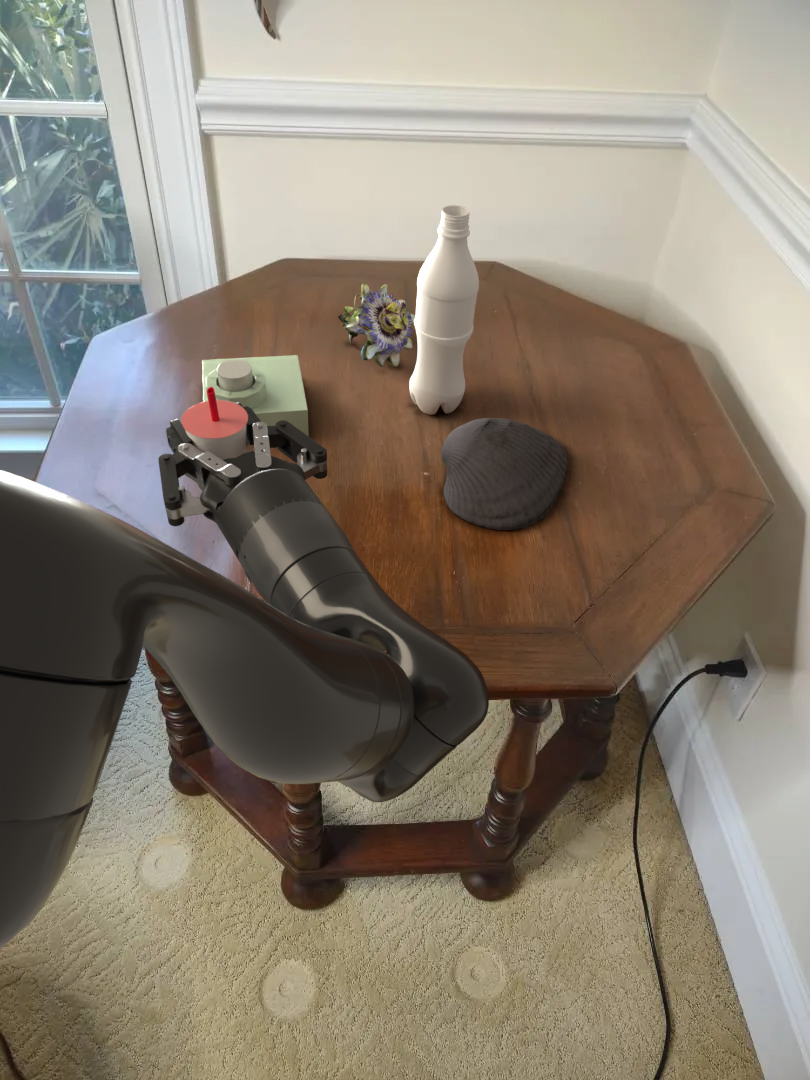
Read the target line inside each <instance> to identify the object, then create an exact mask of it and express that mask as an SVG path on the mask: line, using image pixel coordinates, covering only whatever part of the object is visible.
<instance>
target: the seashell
mask: <svg viewBox="0 0 810 1080" xmlns="http://www.w3.org/2000/svg"><path fill="white" fill-rule="evenodd" d="M440 456H441V457H440V458H441V460H442V462H443V464H444V465H445V468H446V478H445V482H444V487H443V497H444V501H445V503H446V505H447V508H449V509H450V511H451V512H452V513H453V514H454V515H456V516H458V517H460V518H461V519H462V520H464V521H466V522H467V523H471V524H474V525H475V526H480V527H482V528H486V529H489V530H496V531H516V530H523V529H526V528H528V527H530V526H533V525H535V524H536V523H537V522H538V521H541V520H542V519H544V518H545V516H546V515H548V514H549V513H550V511H551V510H552V509H553V507H554V504H555V503H556V501H557V498H559V493H561V491H562V487H563V486H564V484H565V481H566V478H567V477H566V474H567V472H568V470H567V469H568V455H567V452H566V451H565V449H564V446H563V445H562V444H561V443H560V442H559V441H557V440H556V439H555V438H554V437H553V436H552V435H550V434H548V433H547V432H544V431H543V430H541V429H538V428H536V427H533V426H532V425H529V424H527V423H523V422H520V421H515V420H513V419H508V418H500V417H497V418H495V417H481V418H477V419H473V420H471V421H468V422H466V423H463V424H461V425H459V426H457V427H456V428H454V429H453V430H452V431H450V433H449V434H448V435H447V436H446V438H445V440H444V442H443V443H442V446H441V450H440Z"/></svg>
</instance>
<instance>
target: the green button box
mask: <svg viewBox="0 0 810 1080" xmlns="http://www.w3.org/2000/svg"><path fill="white" fill-rule="evenodd" d="M228 360H243V361H246V362H248V363H249V364H250V365H251V367H252V375H253V385H252V387H251V388H249V389H247V390H244V391H240V392H229V391H225V390H222V389H221V388H220V386H219V382H218V375H217V368H218V366H219V365H220V364H221V363H223V362H225V361H228ZM201 364H202V365H201V366H202V368H201V369H202V402H205V401H208V397H207V389H208V388H209V387H213V388H214V391H215V397H216V400H223V401H229V402H233V403H238V402H240V403H241V404H242V405H243V407H245V406H248V407H250V408H251V409H252V410H253V411H254V413H255V414H256V415H257V417H258V418H259V419H260V421H261V422H264V423H266V424H267V426H276V423H277V422H278V421H282V420H284V421H288V422H289V423H291V424H292V425H293V426H295V427H296V428H297V429H299V430H300V431H302V432H303V433H304V434H306V435H307V436H308V437H310V435H309V434H310V433H309V432H310V431H309V409H308V403H307V397H306V392H305V387H304V382H303V376H302V371H301V365H300V360H299V355H298V354H293V355H291V354H289V355H273V356H252V357H251V356H250V357H235V358H234V357H233V358H216V359H215V358H213V359H202V360H201Z"/></svg>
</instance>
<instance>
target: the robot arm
mask: <svg viewBox="0 0 810 1080" xmlns="http://www.w3.org/2000/svg"><path fill="white" fill-rule="evenodd" d="M236 404H238V405H240V406H241V407H242V408H244V409H245V411H246V412H247V414H248V421H247V424H246V443H247V444H248V445H249V446H250V447H251V446H254V450H251V451H248V452H247V451H246V453H244V454H242V455H240V456H238V457H236V458H228V459H224V460H222V459H220V458H218V457H217V456H215V455H214V454H212V453H211V452H209V451H205V452H202V451H201V450H199V449H198V448H196V447H195V446H193V441H192V439H191V438H189V436H188V435H187V434H186V431H185V429H184V427H183V425H182V421H181V419H179V418H176V419H172V420H170V421H169V425H170V426H168V427H166V429H165V434H166V439H167V443H168V447H169V448H170V450H171V452H172V454H171V453H163V454H161V455H160V456H158V457H157V458H158V466H159V468H158V469H159V474H160V475H159V477H160V484H161V490H162V498H163V504H164V509H165V512H166V517H167V521H168V524H169V526H171V527H180V526H181V525H183V524H184V523H185V518H186V517H190V516H191V517H192V516H197V515H203V516H204V517H205V518H206V519H207V520H210V521H212V522H214V523H215V524H216V525H217V526H218V528H219V530H220V532H221V533H222V536H223V537H224V539H225V540H226V542H227V543H228V545H229V547H230V548H231V550H232V553H234V555H235V557H236V559H237V560H238V562H239V564H240V565H241V567H242V568H243V569H242V571H243V572H244V575H245V576H246V578H247V580H248V581H249V582H250V583H251V584H252V585H253V587H254V588H255V590H256V592H257V593H258V594H259V596H260V597H259V596H257V595H256V594H254V593H252V592H251V591H250V590H248V589H246V588H245V587H243V586H241V585H240V584H238V583H236V582H234V581H232V580H231V579H229V578H227V577H226V576H224V575H222V574H221V573H219V572H217V571H215V570H213V569H211V568H209V567H208V566H206V565H204V564H202V563H200V562H199V561H197V560H195V559H193V558H191V557H190V556H188V555H187V554H185V553H183V552H181V551H179V550H178V549H176V548H174V547H172V546H170V545H168V544H167V543H165V542H163V541H161V540H160V539H158V538H156V537H154V536H152V535H150V534H148V533H147V532H145V531H144V530H142V529H139V528H138V527H136V526H135V525H132V524H130V523H129V522H127V521H124V520H123V519H121V518H119V517H117V516H115V515H113V514H111V513H109V512H106V511H105V510H102V509H101V508H99V507H96V506H94V505H93V504H90V503H88V502H86V501H83V500H82V499H79V498H76V497H74V496H71V495H69V494H66V493H64V492H62V491H59V490H57V489H54V488H52V487H50V486H46V485H44V484H41V483H40V482H39V483H38V482H36V481H34V480H31V479H29V478H26V477H24V476H21V475H19V474H15V473H12V472H9V471H6V470H3V469H0V949H2V948H3V947H4V946H6V945H7V944H8V943H9V942H11V940H13V939H14V938H15V937H16V936H17V935H18V934H20V933H21V932H22V931H23V930H25V928H27V927H28V926H29V925H30V924H31V923H32V922H33V920H34V919H35V918H36V917H37V916H38V914H39V913H40V912H41V910H42V909H43V908H44V907H45V905H46V903H47V902H48V900H49V898H50V897H51V895H52V893H53V892H54V890H55V888H56V887H57V885H58V883H59V881H60V880H61V878H62V877H63V874H64V873H65V870H66V868H67V866H68V865H69V863H70V861H71V858H72V856H73V854H74V851H75V850H76V847H77V845H78V843H79V840H80V837H81V834H82V832H83V829H84V827H85V823H86V821H87V818H88V815H89V813H90V810H91V808H92V805H93V802H94V796H95V793H96V791H97V788H98V786H99V782H100V779H101V777H102V774H103V770H104V767H105V765H106V762H107V758H108V756H109V753H110V749H111V747H112V745H113V744H112V743H113V741H114V738H115V735H116V731H117V729H118V726H119V723H120V719H121V716H122V713H123V710H124V707H125V705H126V701H127V698H128V696H129V692H130V689H131V686H132V684H133V681H132V678H134V677H135V676H136V673H137V669H138V667H139V662H140V659H141V655H142V651H143V648H144V649H145V650H146V651H147V652H148V653H149V654H150V655H151V656H152V657H153V658H154V660H155V661H156V662H157V663H158V664H159V665H160V667H161V668H162V669H163V670H164V671H165V672H166V674H167V675H168V676H169V679H171V681H172V682H173V684H174V685H175V687H176V688H177V689H178V691H179V692H180V694H181V695H182V697H183V699H184V700H185V702H186V704H187V705H188V707H189V708H190V711H191V713H192V714H193V715H194V717H195V718H196V720H197V721H198V723H199V724H200V726H201V727H202V729H203V730H204V732H205V733H206V734H207V736H208V737H209V739H210V740H211V742H213V744H214V745H215V746H216V747H217V748H218V750H219V751H220V752H221V753H222V754H224V756H226V757H227V758H228V759H229V760H230V761H232V762H233V763H234V764H235V765H236V766H237V767H239V768H240V769H242V770H244V771H246V772H248V773H250V774H251V775H253V776H255V777H257V778H260V779H263V780H266V781H270V782H273V783H277V784H281V785H282V784H283V785H284V784H285V785H312V784H324V783H335V782H336V783H337V782H338V783H340V784H341V785H343V786H345V787H348V788H350V789H351V790H352V791H353V792H355V793H356V794H358V795H359V796H360V797H362V798H363V799H365V800H368V801H370V802H373V803H386V802H388V801H391V800H394V799H395V798H399V797H400V796H402V795H403V794H405V793H407V792H408V791H409V790H411V789H412V788H413V787H414V786H415V785H417V784H418V783H419V782H420V781H421V780H422V779H423V778H425V777H426V775H427V774H429V772H431V771H432V770H433V769H434V768H435V767H436V766H438V765H439V764H440V763H441V762H442V761H443V760H444V759H445V758H446V757H447V756H449V755H450V754H451V753H453V751H454V750H455V749H456V748H457V747H458V746H459V745H461V744H462V743H463V742H464V741H465V740H466V739H468V738H469V737H470V736H471V735H472V734H473V733H474V732H475V731H476V730H477V729H478V728H480V726H481V725H482V724H483V722H484V721H485V719H486V717H487V715H488V711H489V705H490V696H489V690H488V686H487V683H486V680H485V676H484V675H483V673H482V671H481V670H480V668H479V667H478V666H477V664H476V663H475V662H474V660H472V658H470V657H469V656H468V655H467V654H466V653H464V652H463V651H462V650H461V649H460V648H458V647H457V646H456V645H454V644H453V643H451V642H450V641H448V640H446V639H445V638H443V637H442V636H441V635H439V634H438V633H436V632H434V631H433V630H432V629H430V628H429V627H427V626H426V625H424V624H423V623H421V622H419V620H417V619H416V618H414V617H413V616H412V615H410V613H408V612H407V611H406V610H404V609H403V608H402V607H401V606H399V604H397V602H396V601H394V600H393V598H392V597H391V596H390V595H388V594H387V592H386V591H385V590H384V589H383V588H382V586H381V585H380V583H378V581H377V580H376V579H375V577H374V576H373V574H372V573H371V572H370V570H369V569H368V568H367V566H366V565H365V563H364V561H362V560H361V558H360V556H358V554H357V552H356V551H355V549H354V547H353V545H352V543H351V541H350V539H349V537H348V535H347V534H346V532H344V530H343V528H342V526H340V524H339V523H338V522H337V520H336V519H335V518H334V516H333V515H332V514H331V513H330V511H329V509H328V508H327V507H326V506H325V504H324V503H323V502H322V500H321V499H320V498H319V496H318V495H317V494H316V492H315V491H314V490H313V488H312V486H311V485H310V484H309V483H308V481H307V480H309V479H310V478H312V477H314V478H315V479H317V480H324V479H325V478H327V476H328V450H327V449H326V448H325V447H323V446H322V445H321V444H320V443H318V442H317V441H315V440H314V439H313V438H311V437H310V436H309V437H308V436H307V435H306V434H304V433H303V432H302V431H300V430H299V429H297V428H296V427H295V426H293V425H292V424H291V423H289V422H288V421H284V420H282V421H278V422H277V423H276V426H267V424H266V423H264V422H261V421H260V419H259V418H258V417H257V415H256V414H255V413H254V411H253V410H252V409H251V408H250V407H248V406H245V407H243V405H242V404H241V403H240V402H238V403H236ZM271 449H277V450H278V451H279V452H281V453H282V455H285V456H286V457H287V458H288V459H290V460H291V461H292V462H291V461H288V460H285V459H283V458H280V457H277V456H274V455H272V454H271ZM183 476H186V477H187V478H189V479H190V480H192V481H193V482H195V483H196V484H197V486H198V488H199V489H200V490H201V494H200V495H199V497H196V496H194V495H192V493H191V491H190V490H187V489H186V487H185V486H184V485H180V480H179V479H180V478H182V477H183Z"/></svg>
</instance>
